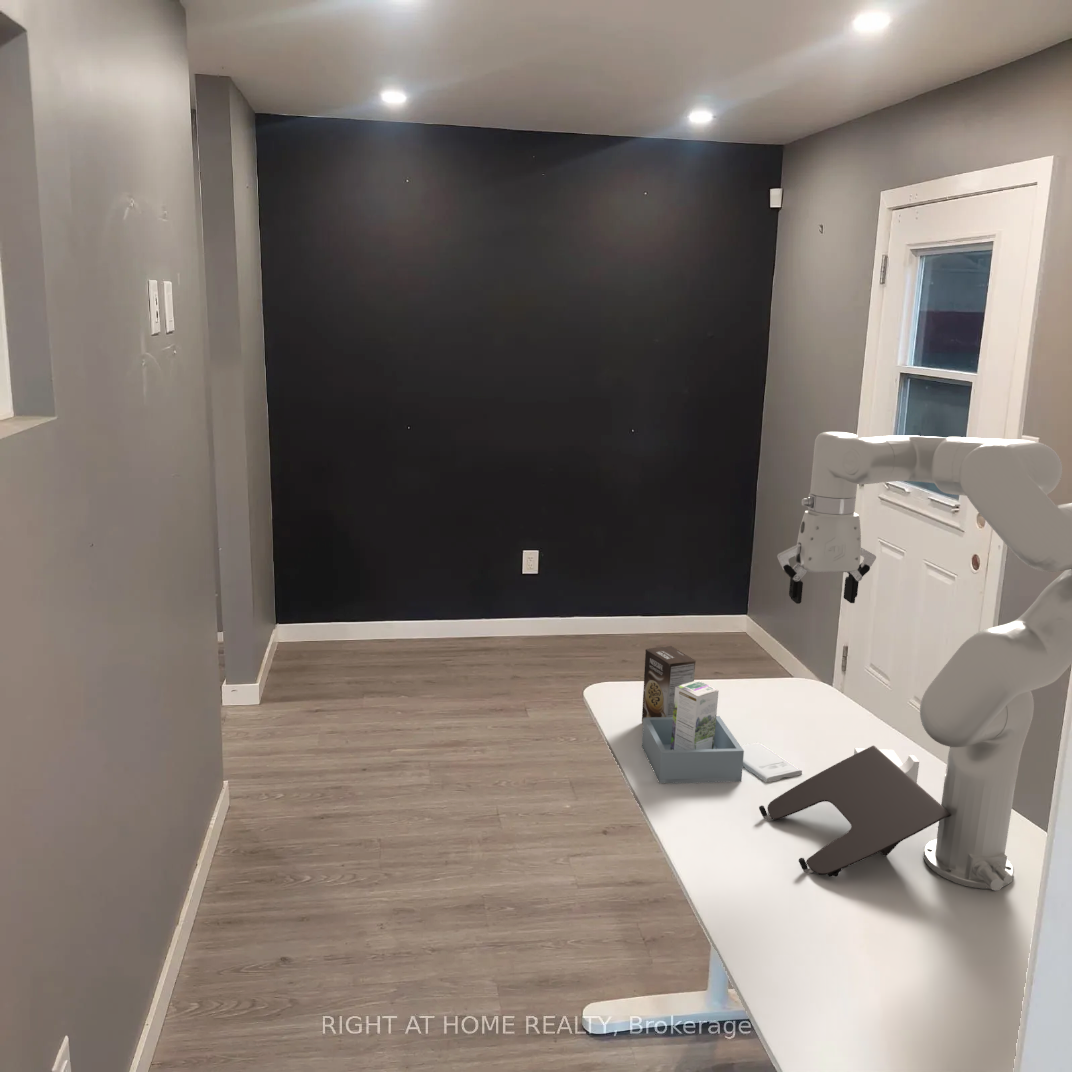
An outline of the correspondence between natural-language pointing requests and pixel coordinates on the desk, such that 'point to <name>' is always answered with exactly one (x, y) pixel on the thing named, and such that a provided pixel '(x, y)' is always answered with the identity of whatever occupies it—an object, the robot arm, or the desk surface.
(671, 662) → the coffee box
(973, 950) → the desk surface
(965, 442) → the robot arm
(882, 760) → the portable electronic device stand
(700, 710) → the syrup box
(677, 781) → the bin
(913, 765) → the bracket
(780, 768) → the external hard drive
